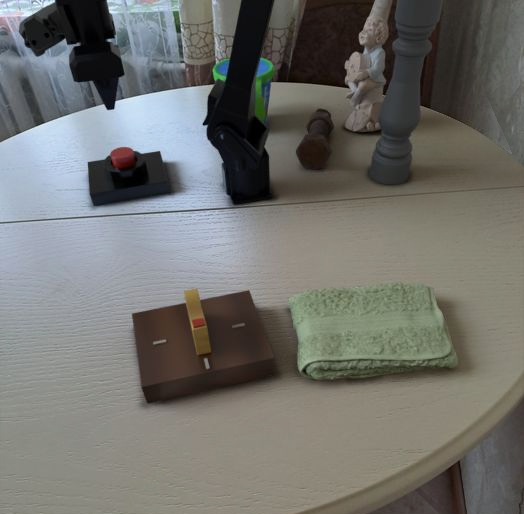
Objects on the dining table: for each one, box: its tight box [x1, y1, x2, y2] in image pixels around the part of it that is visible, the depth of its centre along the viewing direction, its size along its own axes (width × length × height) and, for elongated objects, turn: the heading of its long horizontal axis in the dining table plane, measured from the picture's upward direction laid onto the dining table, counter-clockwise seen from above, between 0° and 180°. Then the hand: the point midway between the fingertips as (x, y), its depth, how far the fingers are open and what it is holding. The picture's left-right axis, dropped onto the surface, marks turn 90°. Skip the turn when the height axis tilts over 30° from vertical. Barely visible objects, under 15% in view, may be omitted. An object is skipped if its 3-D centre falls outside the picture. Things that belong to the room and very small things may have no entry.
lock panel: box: [131, 289, 275, 404], centre depth 56 cm, size 14×11×3 cm
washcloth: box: [288, 282, 459, 381], centre depth 57 cm, size 13×18×3 cm
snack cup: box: [212, 57, 275, 126], centre depth 90 cm, size 16×10×10 cm
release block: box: [87, 150, 171, 207], centre depth 80 cm, size 12×10×4 cm
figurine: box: [344, 0, 394, 133], centre depth 85 cm, size 9×8×20 cm
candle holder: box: [369, 0, 444, 186], centre depth 72 cm, size 6×6×25 cm
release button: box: [109, 146, 136, 168], centre depth 78 cm, size 4×4×2 cm
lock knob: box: [183, 288, 211, 355], centre depth 53 cm, size 6×2×4 cm, turn 15°
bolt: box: [295, 108, 335, 170], centre depth 86 cm, size 6×5×15 cm
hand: (110, 108), depth 72 cm, fingers closed
